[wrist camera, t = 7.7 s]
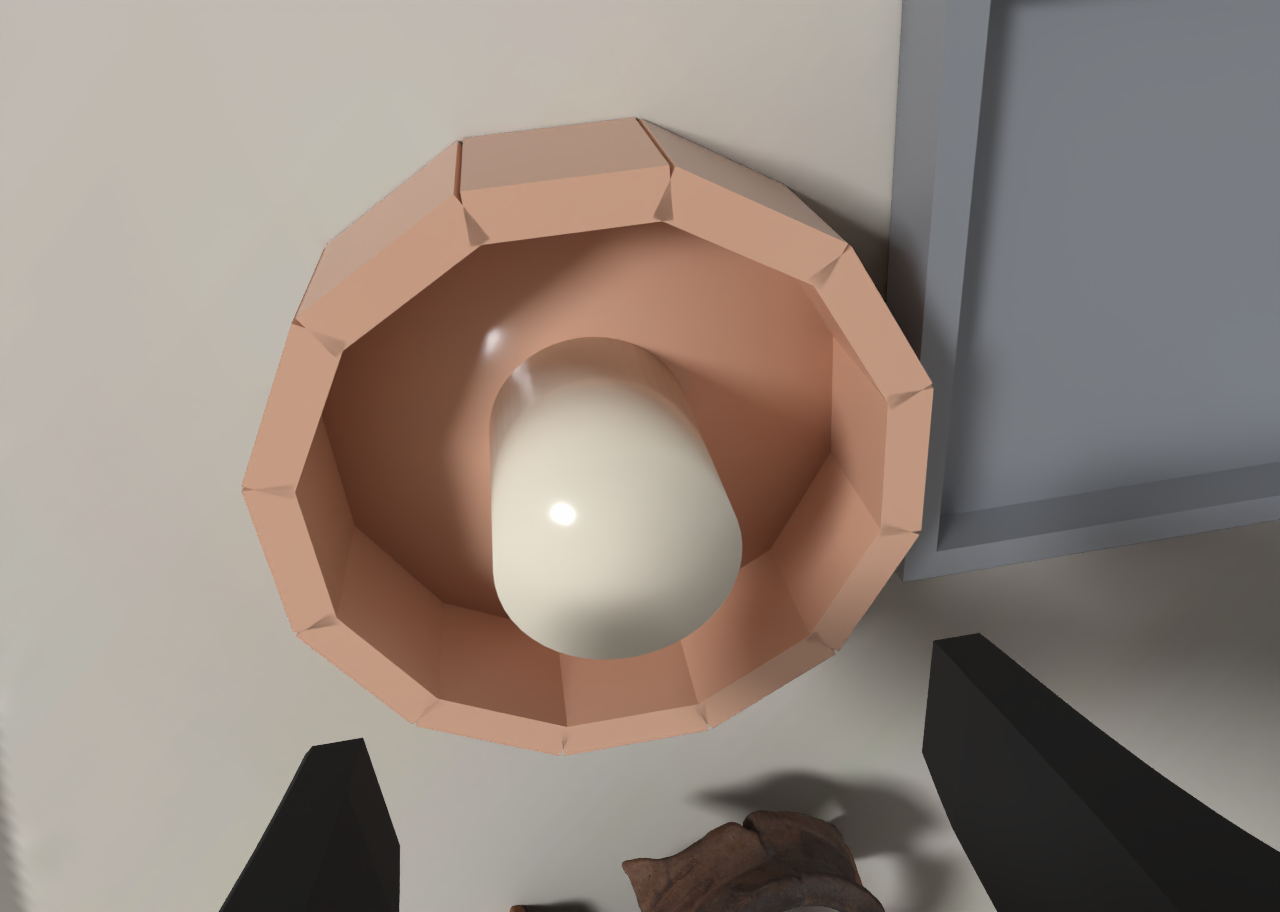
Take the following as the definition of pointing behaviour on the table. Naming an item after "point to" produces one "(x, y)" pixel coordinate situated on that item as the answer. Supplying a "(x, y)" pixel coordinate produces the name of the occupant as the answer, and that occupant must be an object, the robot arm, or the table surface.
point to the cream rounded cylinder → (605, 503)
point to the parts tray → (1089, 271)
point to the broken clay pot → (754, 870)
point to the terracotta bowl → (520, 327)
